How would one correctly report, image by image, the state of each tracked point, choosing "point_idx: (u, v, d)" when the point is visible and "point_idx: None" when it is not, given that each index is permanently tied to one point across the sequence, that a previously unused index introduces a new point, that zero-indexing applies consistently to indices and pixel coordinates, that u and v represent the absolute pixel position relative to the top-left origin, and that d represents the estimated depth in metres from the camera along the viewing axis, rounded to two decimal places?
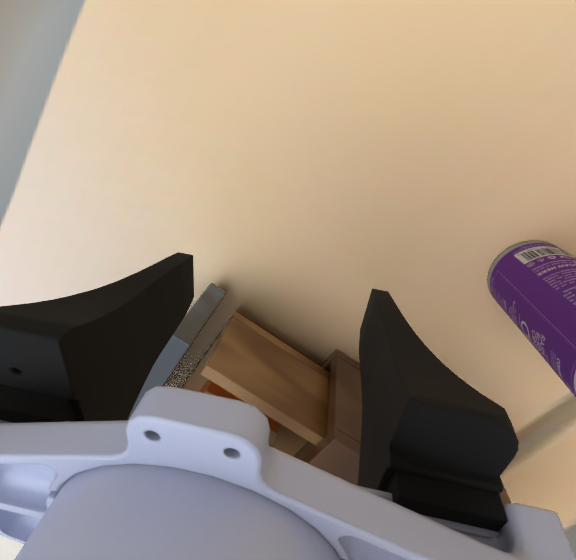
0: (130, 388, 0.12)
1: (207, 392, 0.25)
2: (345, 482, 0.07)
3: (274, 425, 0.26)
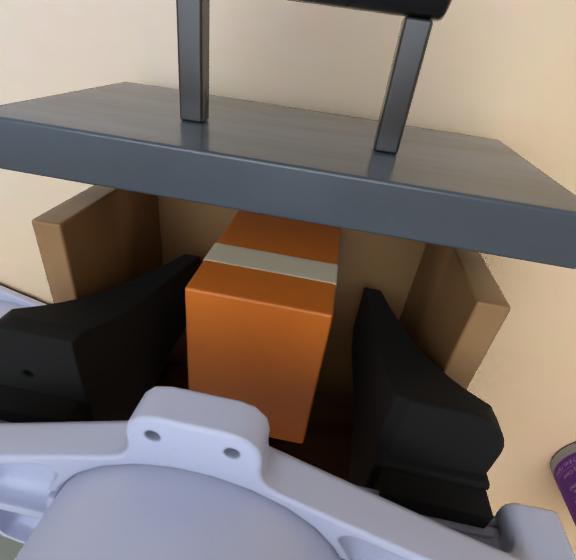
0: (139, 390, 0.12)
1: (337, 270, 0.12)
2: (345, 482, 0.07)
3: None
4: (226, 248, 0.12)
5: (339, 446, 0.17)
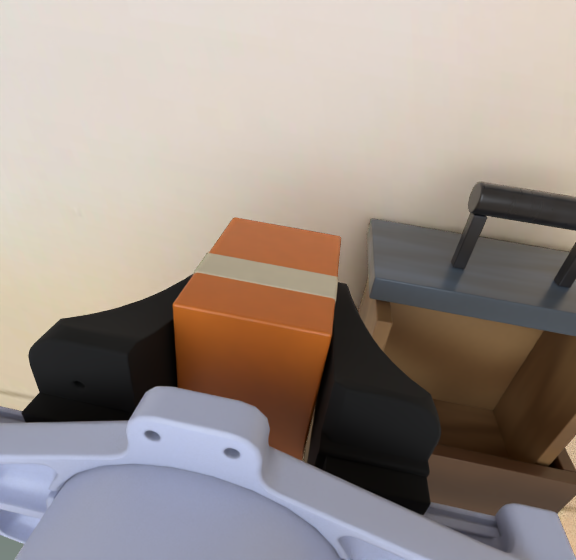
0: None
1: (337, 283, 0.11)
2: (345, 482, 0.07)
3: None
4: (219, 259, 0.11)
5: (483, 440, 0.26)
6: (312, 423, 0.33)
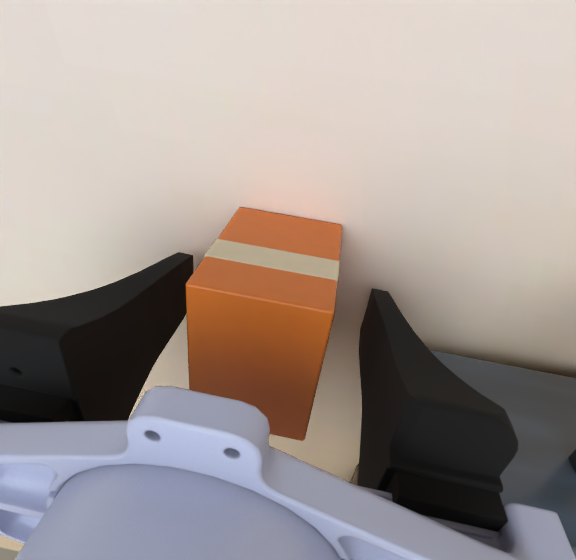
0: (130, 388, 0.12)
1: (339, 267, 0.12)
2: (345, 482, 0.07)
3: None
4: (227, 244, 0.12)
5: None
6: None
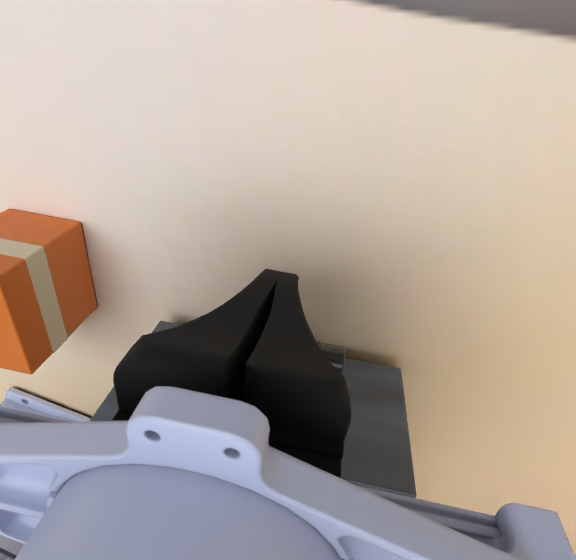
0: None
1: (42, 250, 0.17)
2: (345, 482, 0.07)
3: (72, 327, 0.21)
4: None
5: None
6: None
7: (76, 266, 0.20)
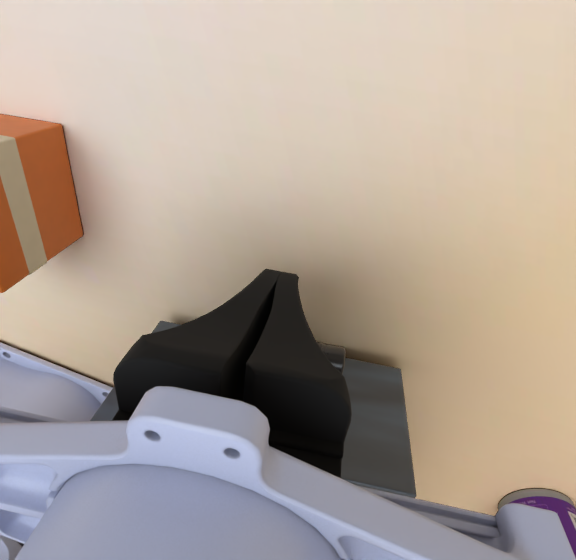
0: None
1: (13, 141, 0.15)
2: (345, 482, 0.07)
3: (53, 250, 0.18)
4: None
5: None
6: None
7: (56, 176, 0.17)
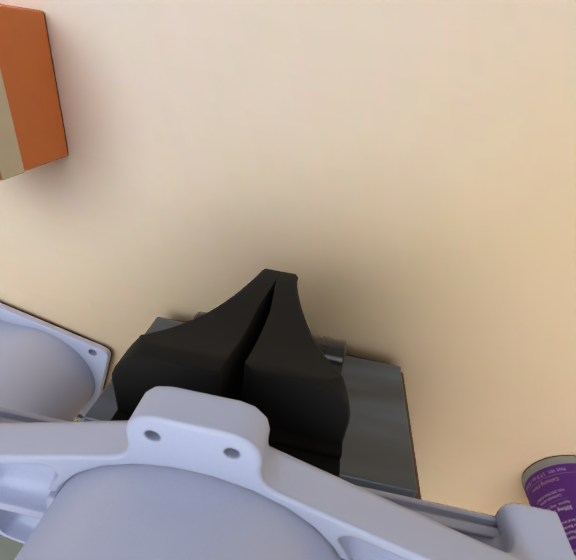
0: None
1: None
2: (345, 482, 0.07)
3: (32, 160, 0.16)
4: None
5: None
6: None
7: (37, 72, 0.15)
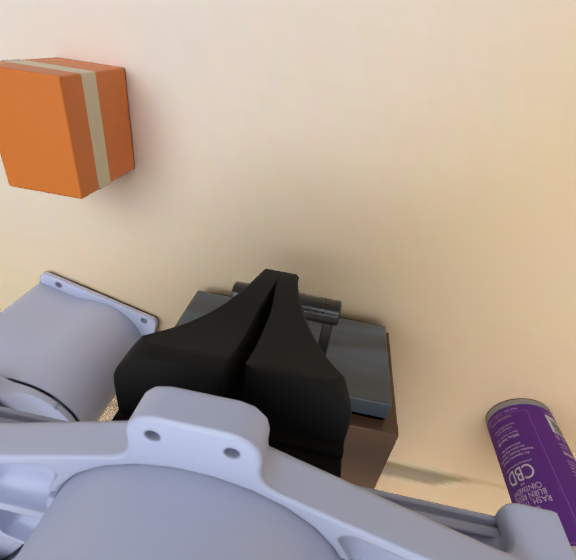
0: None
1: (94, 74, 0.19)
2: (345, 482, 0.07)
3: (114, 174, 0.22)
4: (22, 60, 0.19)
5: None
6: None
7: (119, 111, 0.21)
